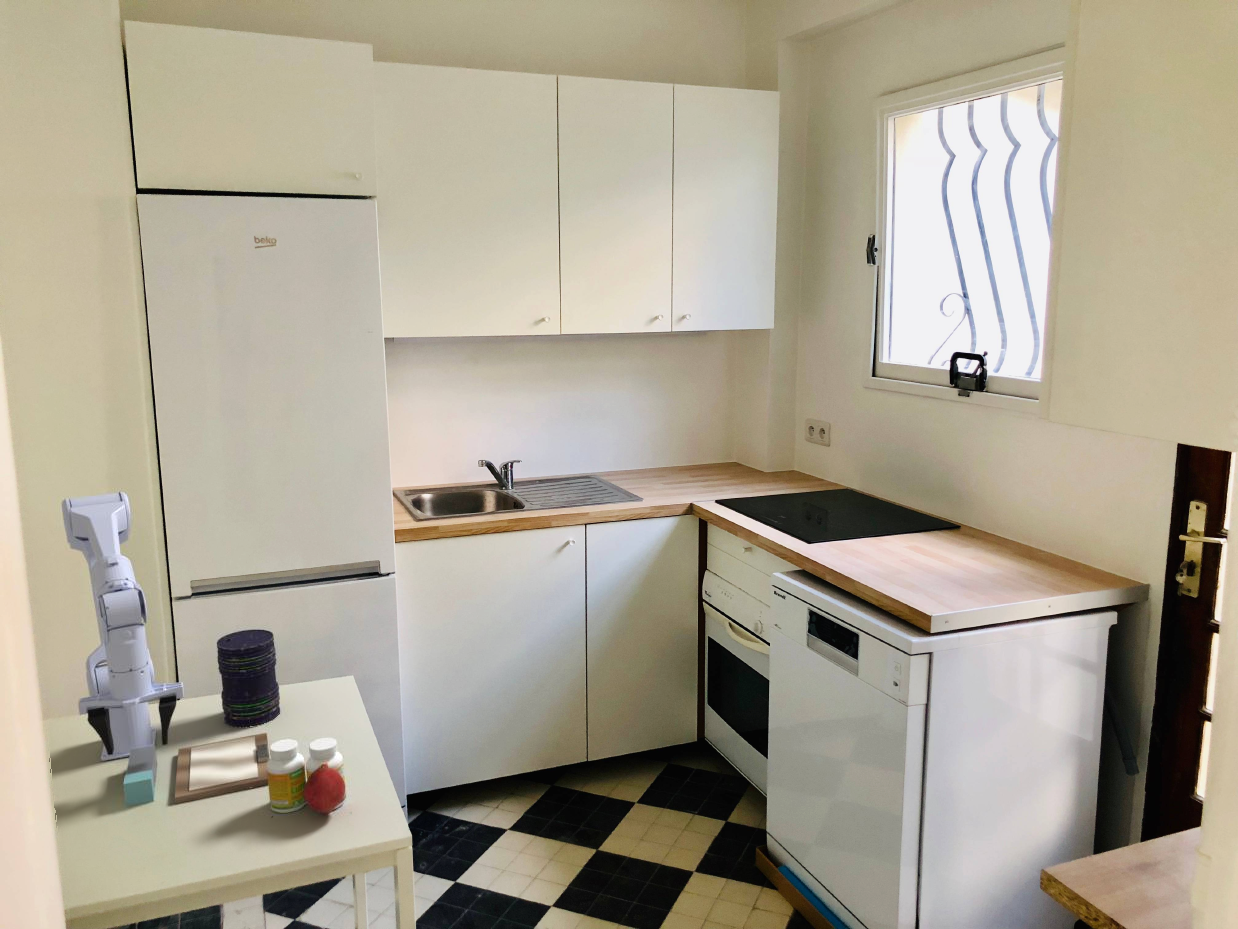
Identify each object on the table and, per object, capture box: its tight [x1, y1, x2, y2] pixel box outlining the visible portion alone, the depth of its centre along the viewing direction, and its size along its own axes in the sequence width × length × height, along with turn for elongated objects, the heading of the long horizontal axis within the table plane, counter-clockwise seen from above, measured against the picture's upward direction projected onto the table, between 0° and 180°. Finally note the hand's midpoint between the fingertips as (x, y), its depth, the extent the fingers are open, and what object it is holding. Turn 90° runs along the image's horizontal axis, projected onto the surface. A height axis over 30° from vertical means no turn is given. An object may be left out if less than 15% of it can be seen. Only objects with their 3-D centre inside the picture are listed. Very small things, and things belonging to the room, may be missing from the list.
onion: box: [304, 763, 346, 814], centre depth 140 cm, size 6×6×8 cm
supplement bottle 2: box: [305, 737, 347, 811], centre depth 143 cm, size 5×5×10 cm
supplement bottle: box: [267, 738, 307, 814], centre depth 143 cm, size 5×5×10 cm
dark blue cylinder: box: [216, 628, 281, 729], centre depth 173 cm, size 10×10×15 cm
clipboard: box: [174, 732, 271, 804], centre depth 155 cm, size 17×14×2 cm
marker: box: [122, 744, 158, 808], centre depth 151 cm, size 14×4×4 cm, turn 23°
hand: (138, 747), depth 149 cm, fingers open, 7 cm apart
